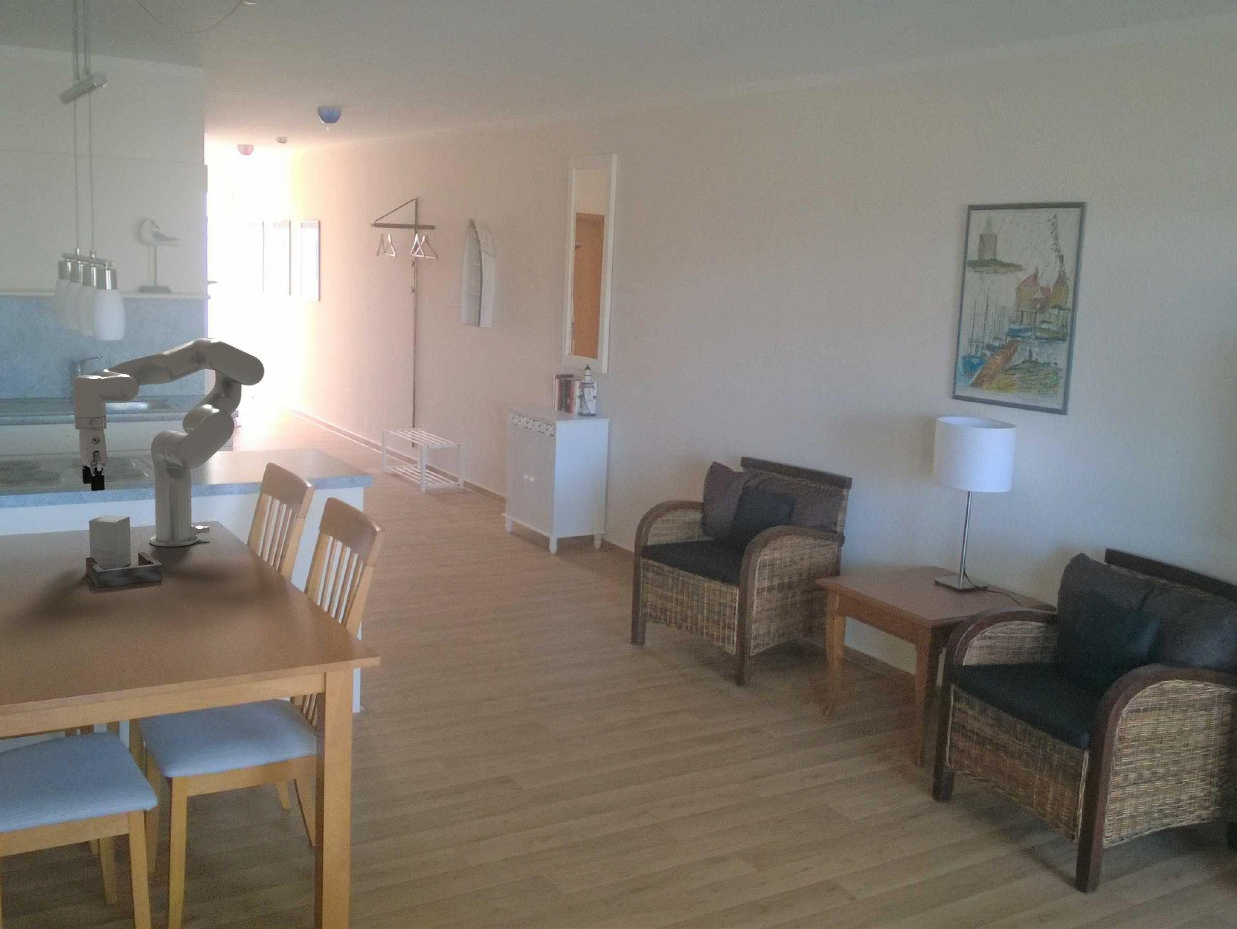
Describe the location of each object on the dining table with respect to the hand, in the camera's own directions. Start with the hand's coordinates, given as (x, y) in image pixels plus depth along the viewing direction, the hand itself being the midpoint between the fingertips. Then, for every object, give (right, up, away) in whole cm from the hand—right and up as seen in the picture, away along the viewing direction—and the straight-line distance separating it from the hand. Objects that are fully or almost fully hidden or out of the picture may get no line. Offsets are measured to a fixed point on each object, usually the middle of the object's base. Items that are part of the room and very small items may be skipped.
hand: (93, 486), depth 297 cm
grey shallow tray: (+14, -22, -15) cm, 31 cm away
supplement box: (+7, -20, -6) cm, 23 cm away
